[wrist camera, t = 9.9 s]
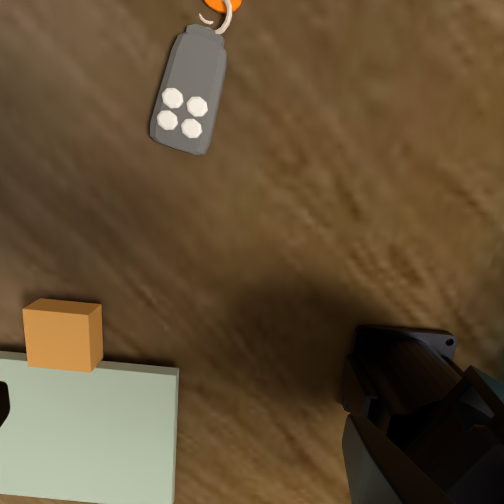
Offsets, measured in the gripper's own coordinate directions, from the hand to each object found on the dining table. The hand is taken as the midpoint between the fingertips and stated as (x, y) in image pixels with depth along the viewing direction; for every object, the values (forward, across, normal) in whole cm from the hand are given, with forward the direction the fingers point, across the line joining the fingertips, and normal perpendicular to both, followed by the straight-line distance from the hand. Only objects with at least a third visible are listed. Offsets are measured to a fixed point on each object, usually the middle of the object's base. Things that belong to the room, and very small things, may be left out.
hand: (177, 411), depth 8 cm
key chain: (+13, +2, -13) cm, 19 cm away
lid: (+12, +10, +11) cm, 19 cm away
